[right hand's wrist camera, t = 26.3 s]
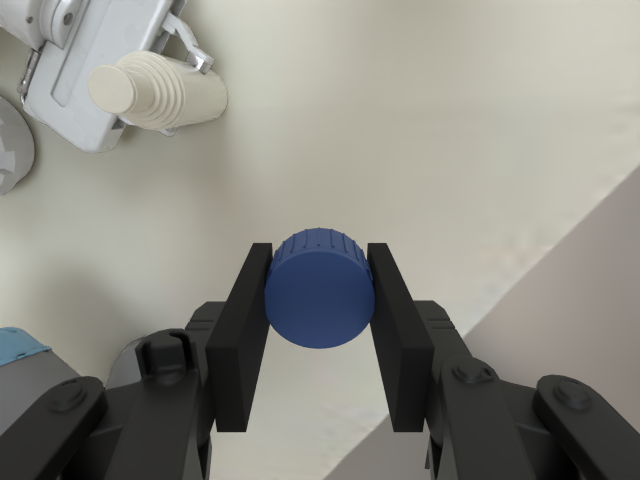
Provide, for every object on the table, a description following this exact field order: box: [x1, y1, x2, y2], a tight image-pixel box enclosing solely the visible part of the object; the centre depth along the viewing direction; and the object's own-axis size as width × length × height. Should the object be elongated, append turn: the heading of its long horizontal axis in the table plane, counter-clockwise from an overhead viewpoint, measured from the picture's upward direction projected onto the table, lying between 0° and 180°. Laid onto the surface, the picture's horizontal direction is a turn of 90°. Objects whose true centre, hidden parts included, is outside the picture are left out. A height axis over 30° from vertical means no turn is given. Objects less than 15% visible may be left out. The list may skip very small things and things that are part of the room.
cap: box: [264, 228, 375, 349], centre depth 14 cm, size 4×4×2 cm
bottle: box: [87, 51, 228, 130], centre depth 31 cm, size 6×6×19 cm
